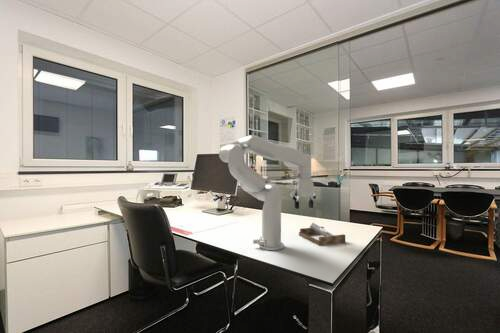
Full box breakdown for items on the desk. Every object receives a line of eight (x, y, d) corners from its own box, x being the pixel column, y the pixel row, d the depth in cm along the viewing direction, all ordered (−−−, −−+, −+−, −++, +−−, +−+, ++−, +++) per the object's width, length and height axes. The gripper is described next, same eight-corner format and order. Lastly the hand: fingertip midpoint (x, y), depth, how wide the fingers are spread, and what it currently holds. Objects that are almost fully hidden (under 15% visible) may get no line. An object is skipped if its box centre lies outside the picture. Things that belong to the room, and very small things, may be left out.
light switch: (335, 239, 123) (311, 224, 129) (329, 248, 124) (306, 232, 130) (336, 235, 131) (313, 221, 136) (331, 243, 132) (308, 229, 137)
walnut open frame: (319, 245, 118) (319, 237, 118) (298, 235, 136) (298, 228, 136) (345, 242, 123) (345, 234, 123) (322, 233, 142) (322, 226, 142)
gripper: (293, 176, 120) (293, 210, 120) (321, 176, 126) (321, 208, 125) (286, 176, 127) (286, 207, 127) (313, 176, 133) (313, 206, 133)
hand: (303, 208), depth 126 cm, fingers open, 8 cm apart
